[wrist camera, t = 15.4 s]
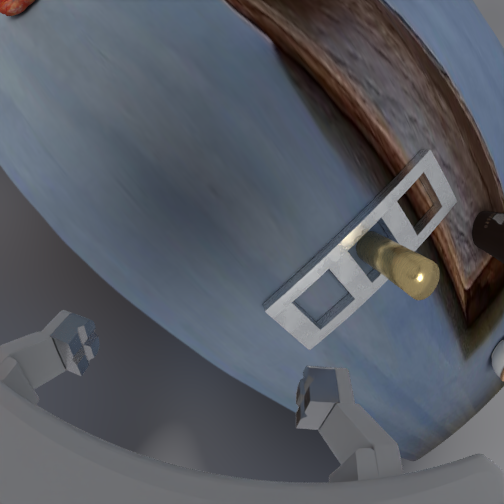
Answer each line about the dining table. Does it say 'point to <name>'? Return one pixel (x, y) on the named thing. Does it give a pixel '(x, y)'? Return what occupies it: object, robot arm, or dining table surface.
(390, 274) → the tall brass rod
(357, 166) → the dining table surface
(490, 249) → the coffee mug
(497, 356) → the lidded jar
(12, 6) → the pomegranate
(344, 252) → the rack rail
